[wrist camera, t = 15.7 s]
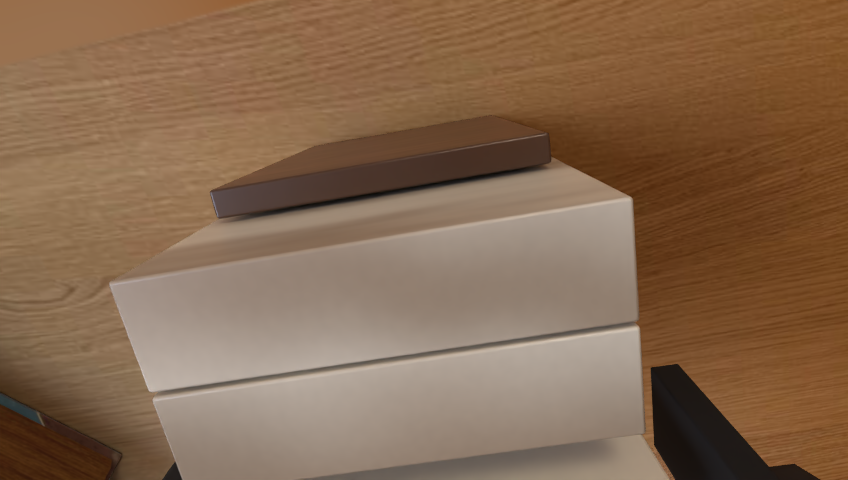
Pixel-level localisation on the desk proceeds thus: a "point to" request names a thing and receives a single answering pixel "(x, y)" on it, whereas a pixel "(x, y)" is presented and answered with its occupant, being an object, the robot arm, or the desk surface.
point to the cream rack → (393, 309)
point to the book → (48, 448)
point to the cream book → (536, 464)
